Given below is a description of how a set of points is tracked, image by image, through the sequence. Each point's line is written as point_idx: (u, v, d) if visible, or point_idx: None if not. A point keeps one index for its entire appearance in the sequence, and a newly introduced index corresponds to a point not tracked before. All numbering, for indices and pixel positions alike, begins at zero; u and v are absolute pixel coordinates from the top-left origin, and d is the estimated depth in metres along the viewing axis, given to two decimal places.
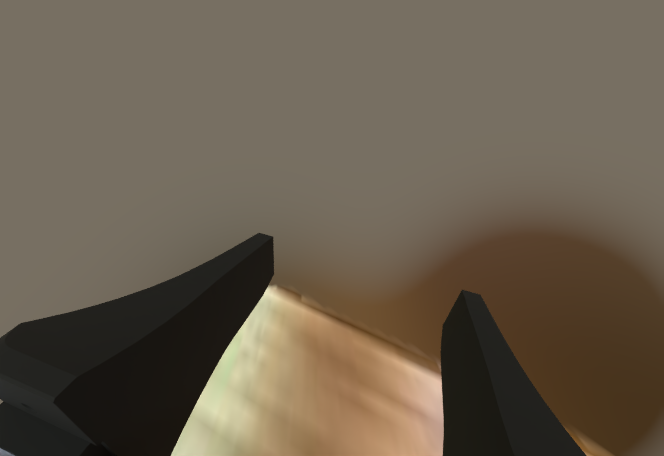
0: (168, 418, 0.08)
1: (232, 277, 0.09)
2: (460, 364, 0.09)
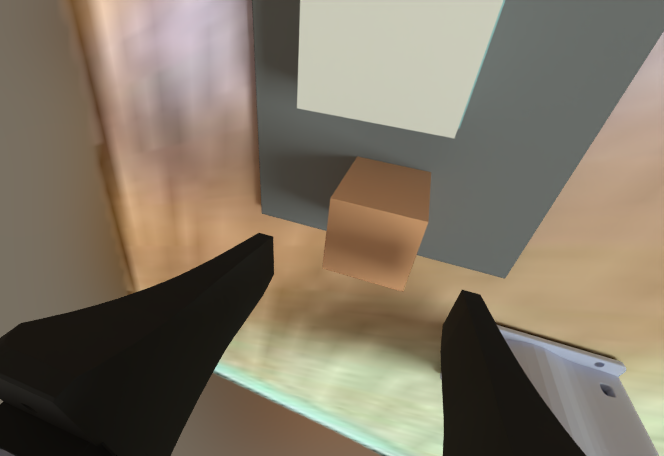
0: (168, 418, 0.08)
1: (232, 277, 0.09)
2: (460, 364, 0.09)
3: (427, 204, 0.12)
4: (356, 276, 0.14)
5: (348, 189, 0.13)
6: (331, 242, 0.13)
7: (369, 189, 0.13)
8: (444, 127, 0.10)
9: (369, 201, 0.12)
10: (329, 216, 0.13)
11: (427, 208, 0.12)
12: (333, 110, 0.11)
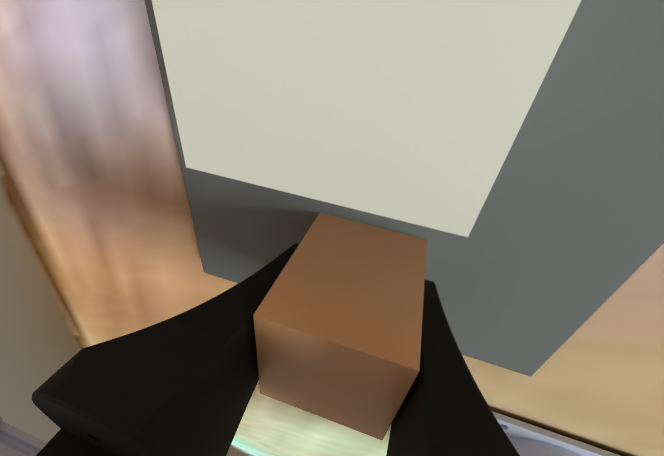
0: (219, 440, 0.07)
1: None
2: None
3: (419, 320, 0.07)
4: (310, 410, 0.09)
5: (290, 288, 0.08)
6: (266, 368, 0.08)
7: (325, 286, 0.08)
8: (448, 217, 0.05)
9: (320, 320, 0.07)
10: (257, 337, 0.08)
11: (418, 330, 0.07)
12: (246, 174, 0.06)
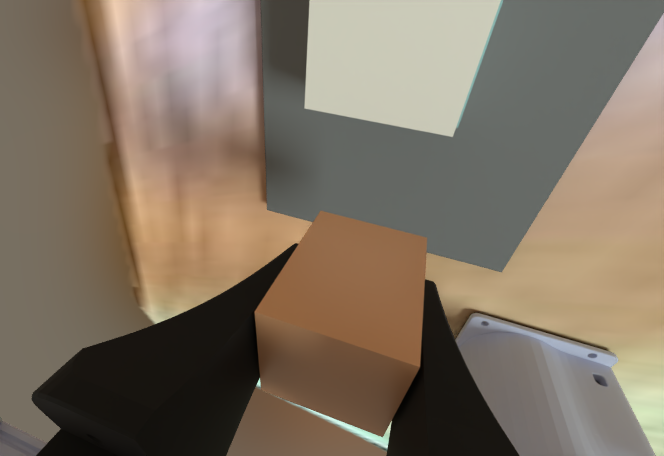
0: (219, 440, 0.07)
1: None
2: None
3: (419, 316, 0.07)
4: (311, 408, 0.09)
5: (290, 285, 0.08)
6: (267, 364, 0.08)
7: (326, 284, 0.08)
8: (443, 126, 0.11)
9: (321, 317, 0.07)
10: (258, 334, 0.08)
11: (419, 327, 0.07)
12: (339, 110, 0.12)
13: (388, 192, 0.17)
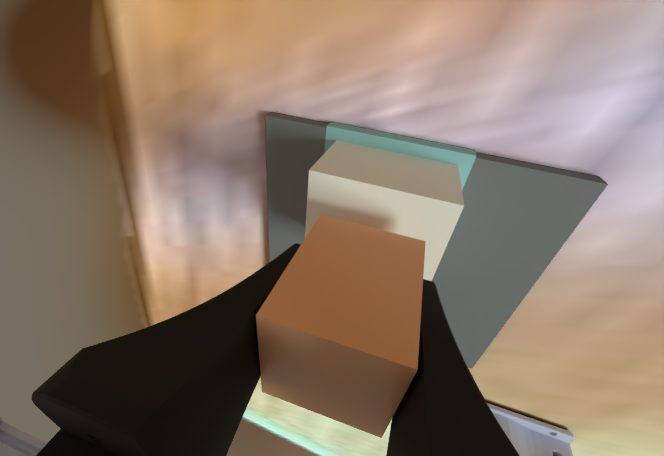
0: (219, 440, 0.07)
1: None
2: None
3: (417, 320, 0.08)
4: (311, 409, 0.09)
5: (291, 288, 0.08)
6: (268, 367, 0.09)
7: (325, 288, 0.08)
8: None
9: (321, 320, 0.07)
10: (259, 337, 0.08)
11: (417, 330, 0.07)
12: None
13: None
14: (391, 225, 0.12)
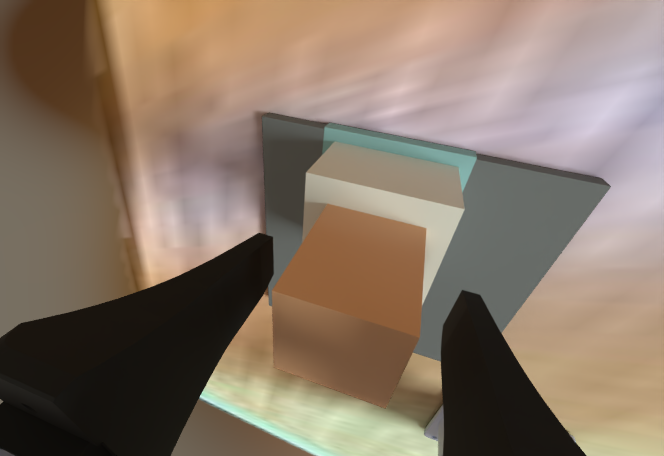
0: (168, 418, 0.08)
1: (232, 277, 0.09)
2: (460, 364, 0.09)
3: (419, 296, 0.08)
4: (320, 382, 0.10)
5: (303, 268, 0.09)
6: (281, 341, 0.09)
7: (334, 268, 0.09)
8: None
9: (332, 296, 0.08)
10: (274, 312, 0.08)
11: (419, 304, 0.08)
12: None
13: None
14: None
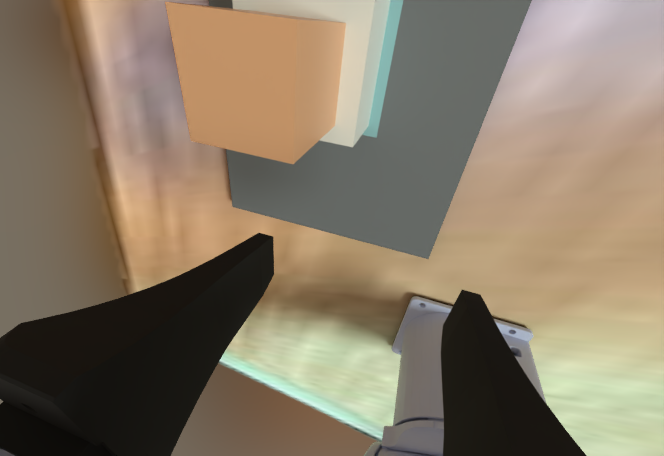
0: (168, 418, 0.08)
1: (232, 277, 0.09)
2: (460, 364, 0.09)
3: (312, 20, 0.09)
4: (233, 147, 0.10)
5: (205, 6, 0.09)
6: (188, 90, 0.09)
7: (237, 10, 0.09)
8: (344, 139, 0.14)
9: (223, 9, 0.08)
10: (173, 40, 0.09)
11: (309, 20, 0.08)
12: None
13: (330, 191, 0.21)
14: None
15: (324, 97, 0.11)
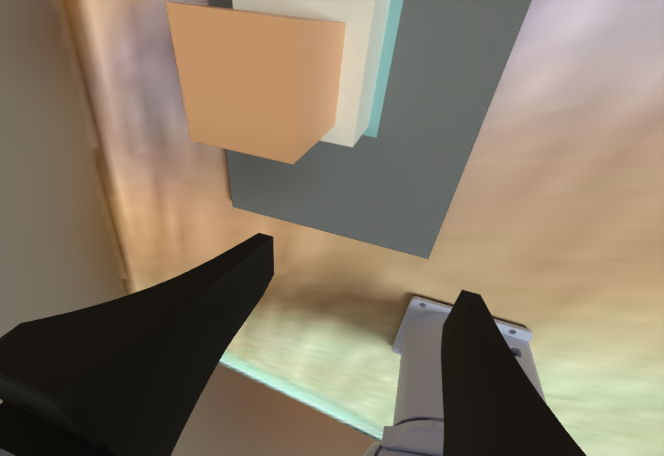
0: (168, 418, 0.08)
1: (232, 277, 0.09)
2: (460, 364, 0.09)
3: (312, 20, 0.09)
4: (233, 147, 0.10)
5: (205, 6, 0.09)
6: (189, 90, 0.09)
7: (237, 10, 0.09)
8: (344, 139, 0.14)
9: (223, 9, 0.08)
10: (173, 40, 0.09)
11: (309, 20, 0.08)
12: None
13: (330, 191, 0.21)
14: None
15: (324, 97, 0.11)
